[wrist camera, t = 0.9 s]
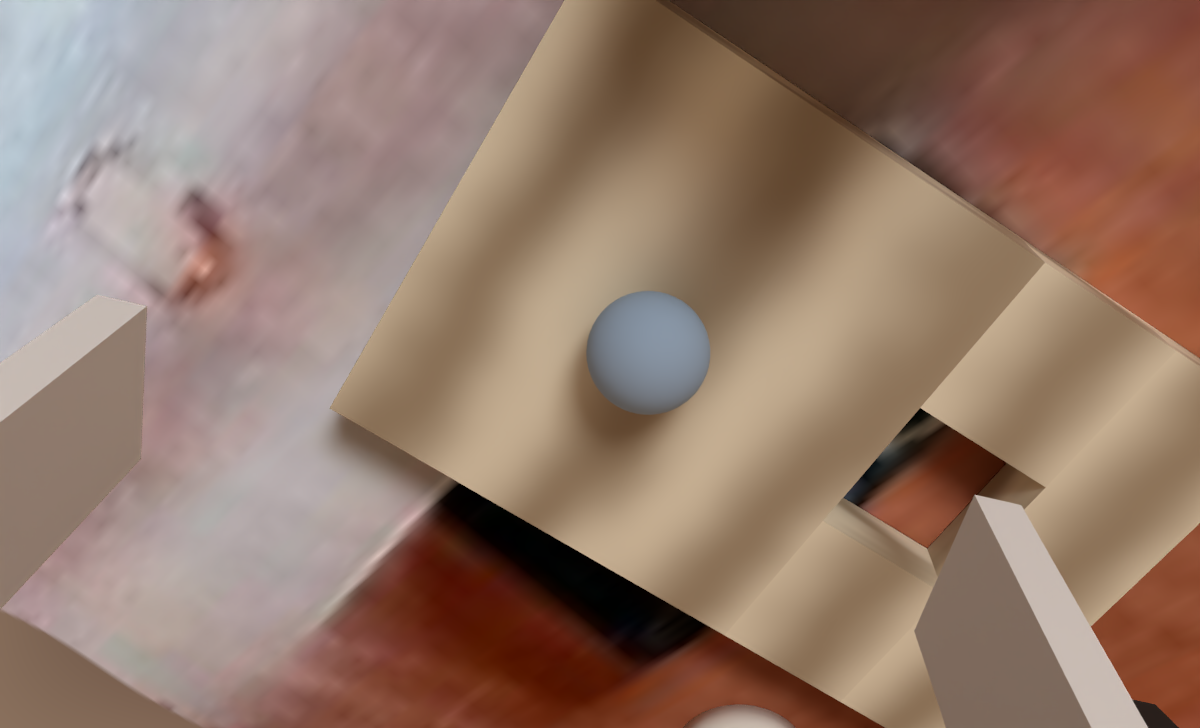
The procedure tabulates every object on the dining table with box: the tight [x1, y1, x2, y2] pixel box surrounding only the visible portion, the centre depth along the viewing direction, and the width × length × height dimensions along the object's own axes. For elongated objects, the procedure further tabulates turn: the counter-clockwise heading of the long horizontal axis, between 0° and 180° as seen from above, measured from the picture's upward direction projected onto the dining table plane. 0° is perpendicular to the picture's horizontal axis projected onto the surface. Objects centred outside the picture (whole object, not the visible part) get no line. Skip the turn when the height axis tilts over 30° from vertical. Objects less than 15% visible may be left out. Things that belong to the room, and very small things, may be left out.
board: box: [330, 0, 1200, 728], centre depth 38 cm, size 28×18×3 cm, turn 58°
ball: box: [586, 291, 710, 415], centre depth 34 cm, size 4×4×4 cm
